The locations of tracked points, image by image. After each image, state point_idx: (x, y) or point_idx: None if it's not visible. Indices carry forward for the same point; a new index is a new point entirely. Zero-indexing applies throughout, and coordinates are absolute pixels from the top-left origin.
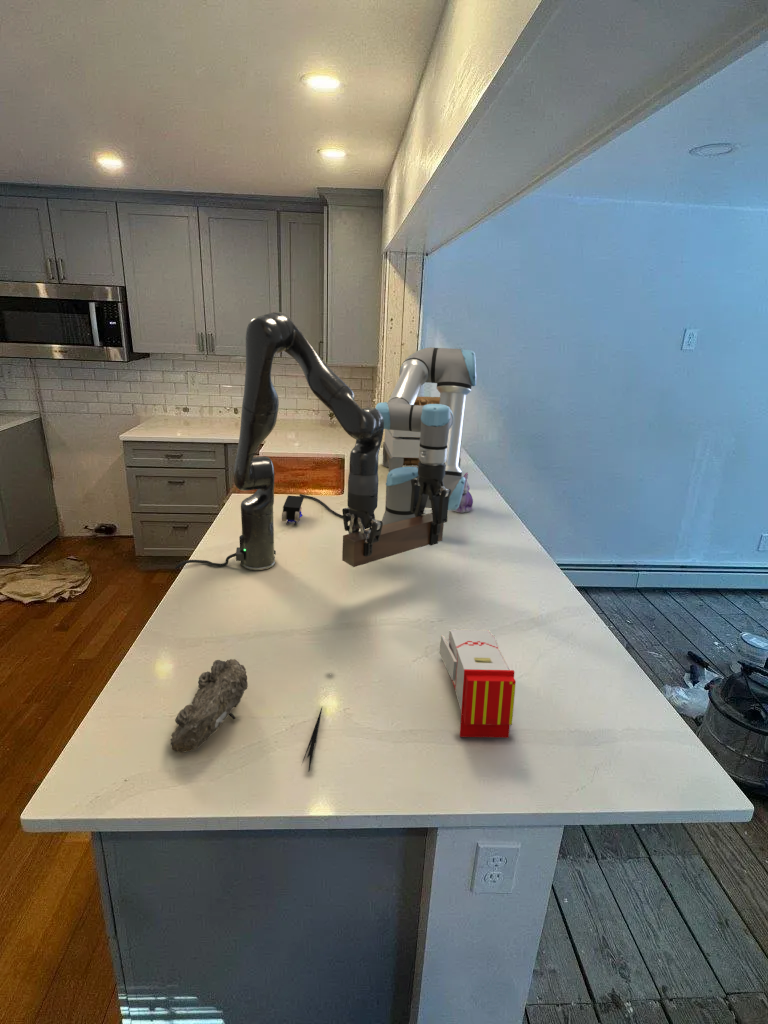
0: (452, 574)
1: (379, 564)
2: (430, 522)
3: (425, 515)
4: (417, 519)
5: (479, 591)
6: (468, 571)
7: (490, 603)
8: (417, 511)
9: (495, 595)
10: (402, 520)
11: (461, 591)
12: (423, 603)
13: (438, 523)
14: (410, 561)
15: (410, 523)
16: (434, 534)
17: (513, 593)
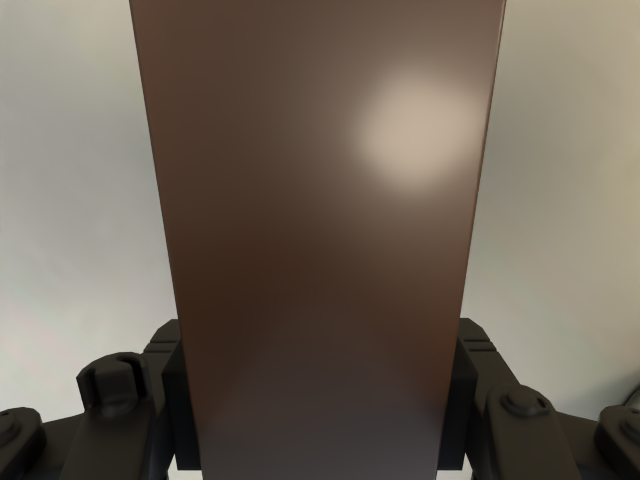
0: None
1: (570, 141)
2: (193, 377)
3: (405, 471)
4: (355, 292)
5: (124, 307)
6: None
7: (25, 271)
8: (513, 451)
9: (71, 329)
10: (491, 16)
11: (156, 253)
12: None
13: (78, 420)
14: (486, 276)
15: (275, 46)
16: None
17: (57, 384)
